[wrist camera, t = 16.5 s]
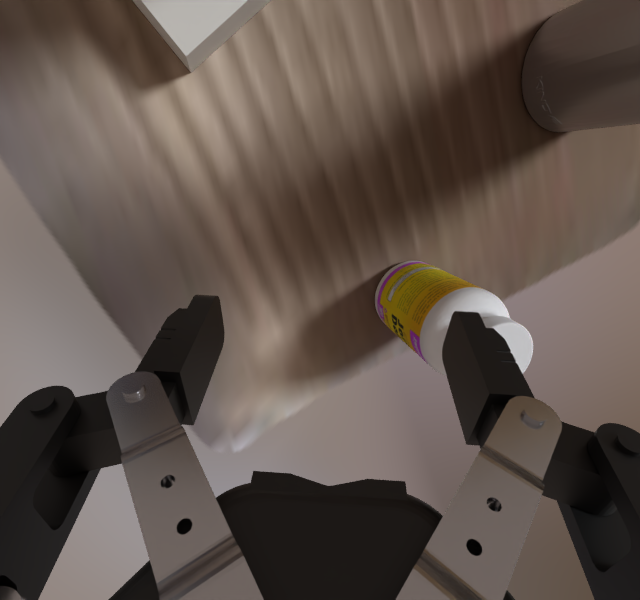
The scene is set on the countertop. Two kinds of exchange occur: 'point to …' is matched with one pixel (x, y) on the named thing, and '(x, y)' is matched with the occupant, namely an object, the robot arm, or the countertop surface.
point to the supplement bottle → (441, 311)
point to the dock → (198, 24)
